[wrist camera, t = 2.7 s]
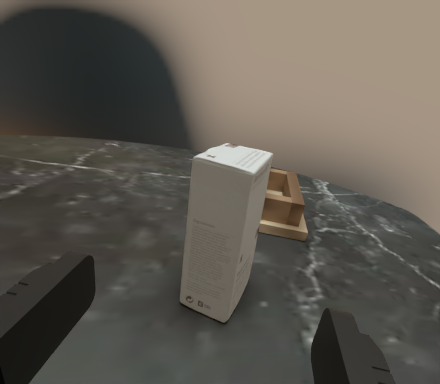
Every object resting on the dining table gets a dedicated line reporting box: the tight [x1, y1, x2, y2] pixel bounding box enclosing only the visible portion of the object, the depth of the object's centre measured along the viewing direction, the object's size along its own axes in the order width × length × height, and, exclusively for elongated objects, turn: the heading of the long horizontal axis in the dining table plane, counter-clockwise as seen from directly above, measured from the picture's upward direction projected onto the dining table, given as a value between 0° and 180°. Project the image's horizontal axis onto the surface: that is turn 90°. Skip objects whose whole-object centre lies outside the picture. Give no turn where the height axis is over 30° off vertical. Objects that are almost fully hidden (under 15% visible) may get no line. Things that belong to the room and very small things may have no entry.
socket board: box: [258, 168, 308, 241], centre depth 39 cm, size 14×14×4 cm
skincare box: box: [180, 143, 273, 323], centre depth 21 cm, size 6×4×12 cm
